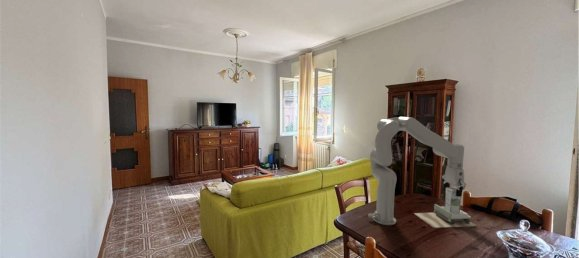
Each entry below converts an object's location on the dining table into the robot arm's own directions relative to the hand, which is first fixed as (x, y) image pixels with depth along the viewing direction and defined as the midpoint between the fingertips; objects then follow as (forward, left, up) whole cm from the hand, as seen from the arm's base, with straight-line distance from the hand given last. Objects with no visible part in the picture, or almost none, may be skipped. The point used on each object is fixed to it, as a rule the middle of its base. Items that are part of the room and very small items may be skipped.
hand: (452, 193), depth 142 cm
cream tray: (-4, 0, -16) cm, 17 cm away
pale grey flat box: (0, 0, -16) cm, 16 cm away
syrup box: (0, 0, -12) cm, 12 cm away
